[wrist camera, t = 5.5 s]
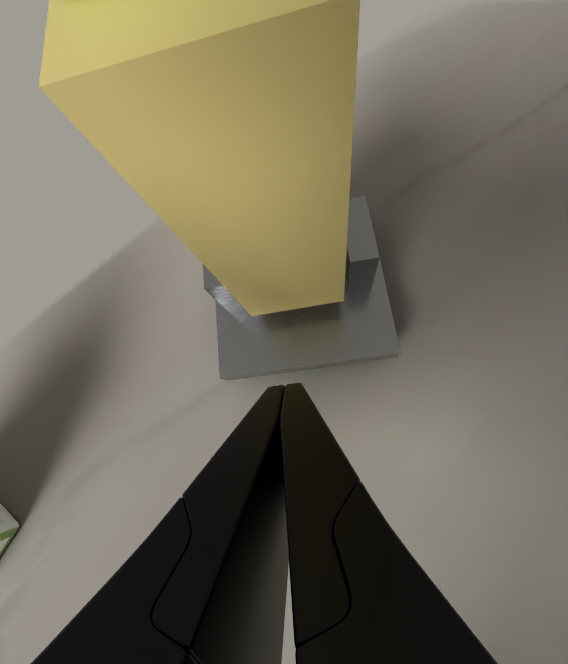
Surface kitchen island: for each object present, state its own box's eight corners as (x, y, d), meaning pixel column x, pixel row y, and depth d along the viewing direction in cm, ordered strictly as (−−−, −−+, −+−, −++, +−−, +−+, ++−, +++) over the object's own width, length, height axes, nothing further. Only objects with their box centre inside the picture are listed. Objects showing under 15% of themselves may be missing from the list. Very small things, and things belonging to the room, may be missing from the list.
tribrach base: (393, 360, 16) (417, 336, 12) (232, 382, 18) (191, 369, 13) (363, 217, 19) (371, 147, 14) (223, 245, 20) (186, 189, 15)
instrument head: (343, 300, 14) (375, -304, 2) (251, 316, 15) (-129, -94, 3) (330, 225, 15) (302, -469, 3) (244, 242, 16) (-52, -289, 4)
